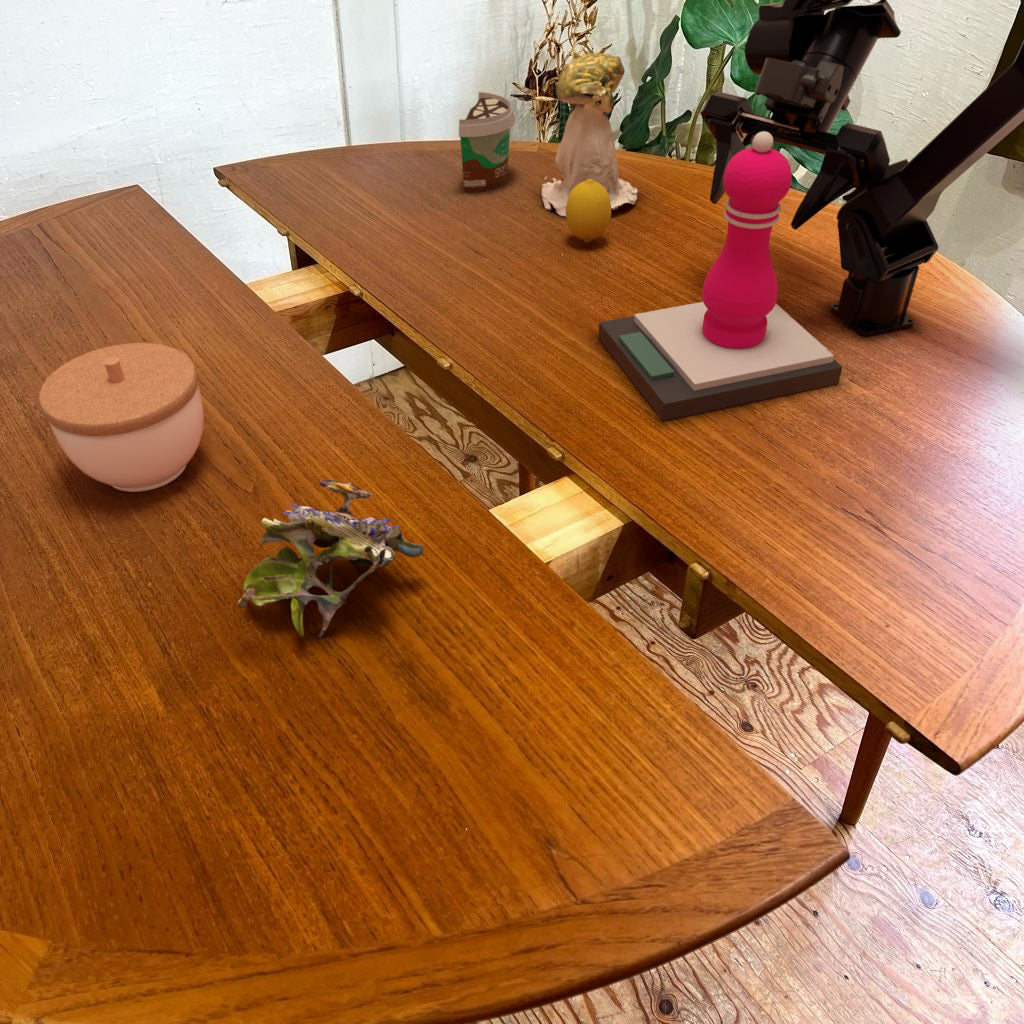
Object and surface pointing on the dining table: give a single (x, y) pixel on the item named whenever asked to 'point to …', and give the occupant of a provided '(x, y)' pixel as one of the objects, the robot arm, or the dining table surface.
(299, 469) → the dining table surface
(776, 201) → the pepper mill
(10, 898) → the dining table surface
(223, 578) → the dining table surface
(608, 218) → the lemon
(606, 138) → the mushroom
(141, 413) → the lidded bowl
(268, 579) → the passion flower
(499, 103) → the food container
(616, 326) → the scale
